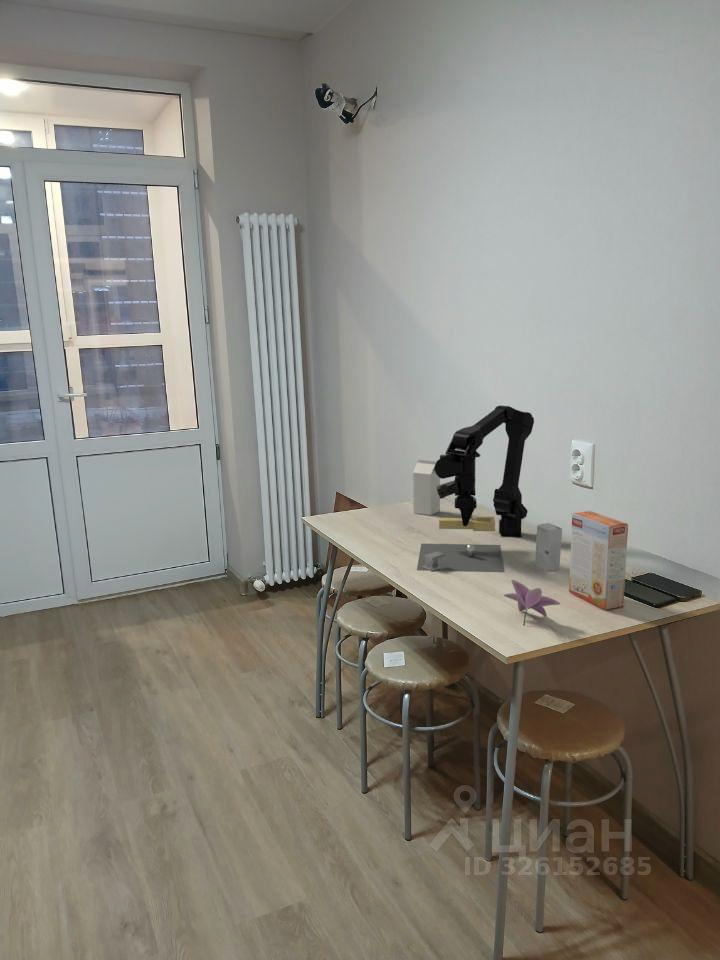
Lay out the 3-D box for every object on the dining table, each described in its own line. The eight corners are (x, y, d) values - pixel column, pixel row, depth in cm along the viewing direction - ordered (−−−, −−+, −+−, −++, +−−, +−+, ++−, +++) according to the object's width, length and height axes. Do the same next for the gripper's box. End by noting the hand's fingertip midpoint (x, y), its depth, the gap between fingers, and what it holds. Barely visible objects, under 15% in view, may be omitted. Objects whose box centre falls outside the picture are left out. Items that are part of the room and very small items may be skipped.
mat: (500, 545, 229) (500, 544, 229) (504, 573, 205) (504, 572, 205) (421, 544, 232) (421, 543, 232) (416, 571, 208) (416, 570, 208)
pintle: (474, 555, 220) (474, 544, 219) (474, 557, 218) (474, 546, 217) (467, 555, 220) (467, 544, 219) (467, 557, 218) (467, 546, 217)
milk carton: (430, 515, 265) (430, 463, 261) (413, 513, 269) (412, 461, 265) (440, 511, 271) (440, 459, 267) (422, 508, 275) (422, 457, 271)
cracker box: (625, 607, 180) (629, 523, 175) (604, 611, 177) (608, 526, 173) (587, 588, 192) (591, 509, 188) (567, 592, 190) (571, 512, 186)
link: (494, 525, 227) (494, 517, 227) (494, 531, 221) (495, 522, 220) (439, 524, 229) (439, 516, 229) (438, 530, 223) (438, 522, 223)
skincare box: (534, 566, 210) (535, 524, 208) (547, 563, 212) (548, 522, 209) (547, 572, 205) (549, 529, 202) (561, 570, 206) (562, 527, 204)
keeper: (431, 571, 207) (431, 558, 206) (421, 567, 210) (421, 555, 209) (446, 567, 210) (446, 554, 209) (435, 563, 213) (435, 550, 213)
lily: (564, 631, 170) (567, 589, 172) (527, 622, 164) (531, 578, 166) (525, 630, 179) (529, 590, 182) (489, 621, 174) (493, 580, 176)
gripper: (438, 467, 232) (438, 516, 235) (437, 480, 214) (437, 532, 217) (475, 467, 230) (474, 516, 234) (476, 480, 212) (476, 533, 216)
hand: (465, 524), depth 225 cm, fingers closed on link, 3 cm apart
